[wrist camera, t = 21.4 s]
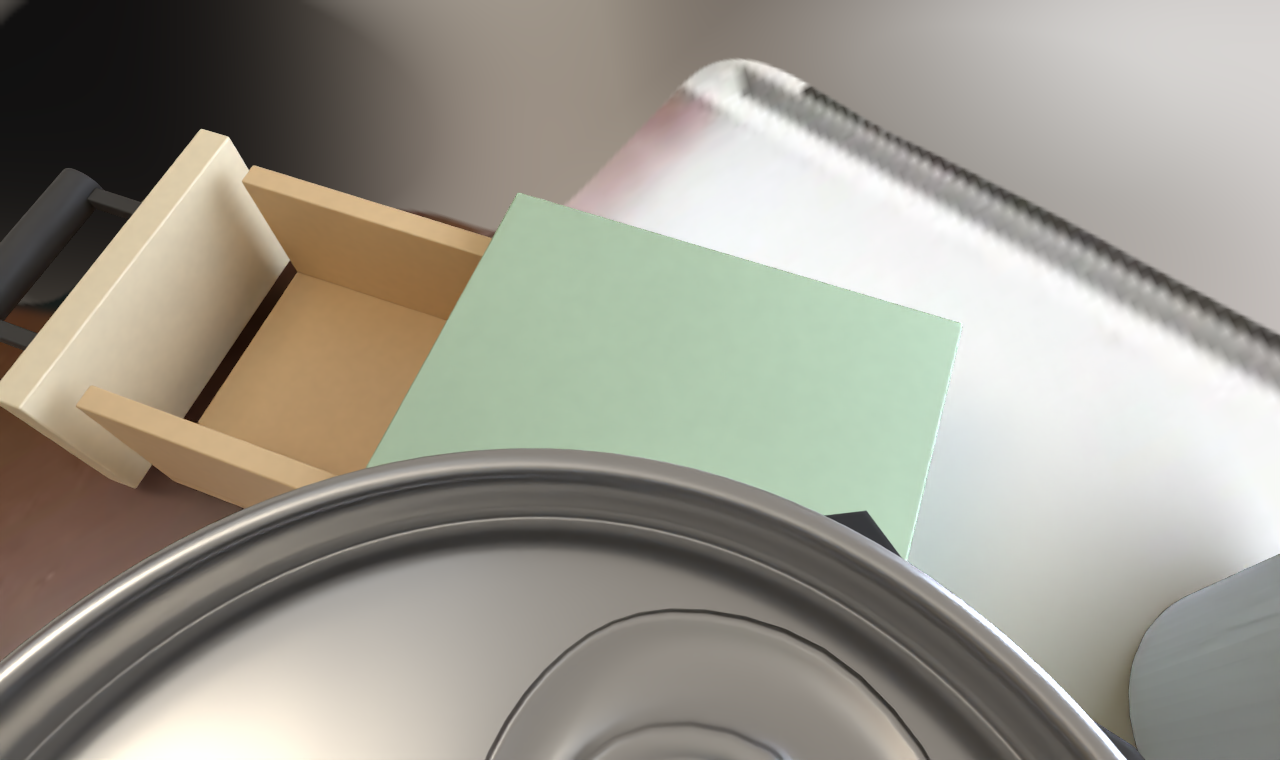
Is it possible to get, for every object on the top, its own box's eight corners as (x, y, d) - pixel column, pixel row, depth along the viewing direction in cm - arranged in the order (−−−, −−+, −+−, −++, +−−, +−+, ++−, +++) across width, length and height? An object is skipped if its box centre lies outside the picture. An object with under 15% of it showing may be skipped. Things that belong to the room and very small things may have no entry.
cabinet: (402, 616, 31) (322, 543, 23) (544, 327, 36) (517, 190, 29) (805, 774, 28) (863, 750, 21) (892, 439, 34) (964, 323, 26)
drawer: (-19, 429, 33) (-166, 339, 27) (157, 205, 38) (65, 86, 32) (438, 607, 30) (386, 549, 24) (566, 337, 35) (549, 233, 29)
